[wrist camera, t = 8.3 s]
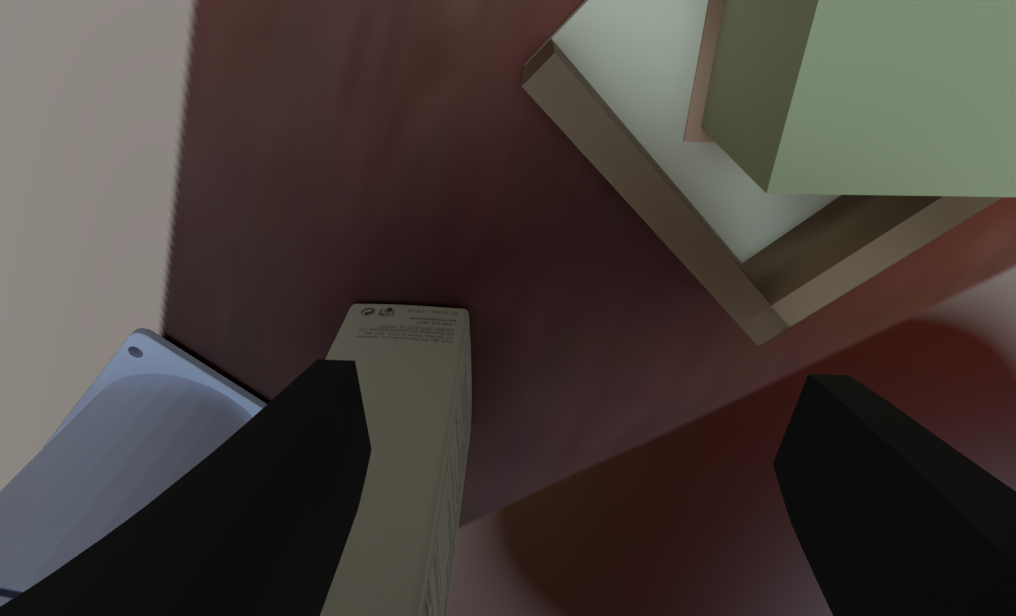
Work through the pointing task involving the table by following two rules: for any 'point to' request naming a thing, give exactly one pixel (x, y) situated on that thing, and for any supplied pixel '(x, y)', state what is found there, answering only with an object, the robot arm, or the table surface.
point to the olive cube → (868, 96)
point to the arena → (713, 167)
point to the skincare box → (406, 458)
